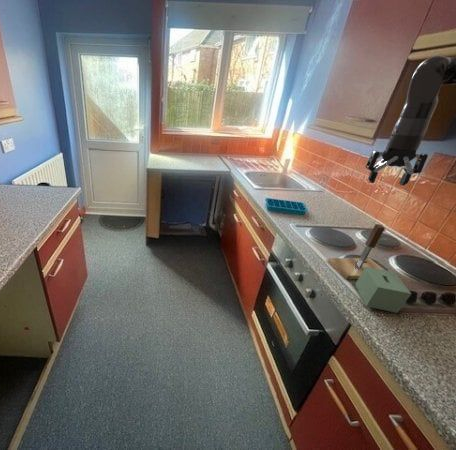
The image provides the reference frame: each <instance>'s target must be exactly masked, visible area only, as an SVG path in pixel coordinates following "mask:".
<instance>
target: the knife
mask: <svg viewBox="0 0 456 450" xmlns="http://www.w3.org/2000/svg"><path fill="white" fill-rule="evenodd" d="M385 230H386V228H385V226H384V225H382V224H380V223H379V224H378V223H375V224H374V226H373V228H372V230H371V232H370V233H369V235H368V238H367V239H366V242H365V247H364V248H363V251H362V253H361V254H360V257H358V258H359V260H358V262H357V265H358V267H359V268H361V267H362V265H363V264H364V262H365V260H366V258H368V256H369V254H370V253H371V251H372V249H375V247H376V245H377V243H378V242H379V240H380V238H381V237H382V235H383V233H384V231H385Z"/></svg>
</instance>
